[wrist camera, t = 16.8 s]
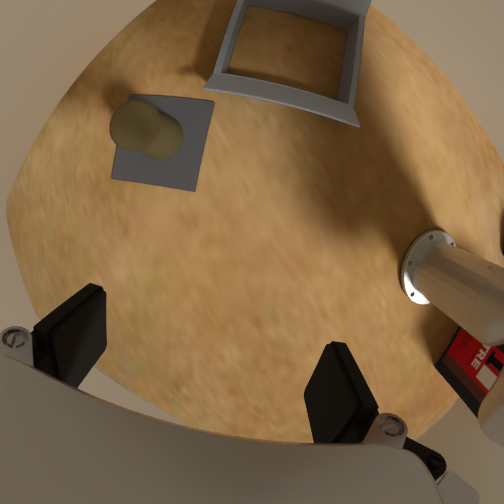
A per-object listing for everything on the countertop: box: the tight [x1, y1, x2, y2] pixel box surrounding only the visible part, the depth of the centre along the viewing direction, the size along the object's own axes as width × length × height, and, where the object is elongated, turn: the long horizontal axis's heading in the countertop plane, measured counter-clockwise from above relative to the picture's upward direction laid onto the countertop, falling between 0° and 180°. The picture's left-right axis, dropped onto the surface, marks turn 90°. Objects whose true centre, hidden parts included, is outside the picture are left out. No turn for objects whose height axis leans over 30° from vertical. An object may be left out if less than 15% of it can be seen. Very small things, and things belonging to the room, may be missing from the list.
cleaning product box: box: [435, 326, 504, 418], centre depth 33 cm, size 16×9×20 cm, turn 161°
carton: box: [203, 0, 372, 128], centre depth 25 cm, size 17×22×8 cm
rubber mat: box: [112, 95, 215, 192], centre depth 32 cm, size 12×12×1 cm
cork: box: [109, 99, 184, 160], centre depth 26 cm, size 6×6×11 cm
